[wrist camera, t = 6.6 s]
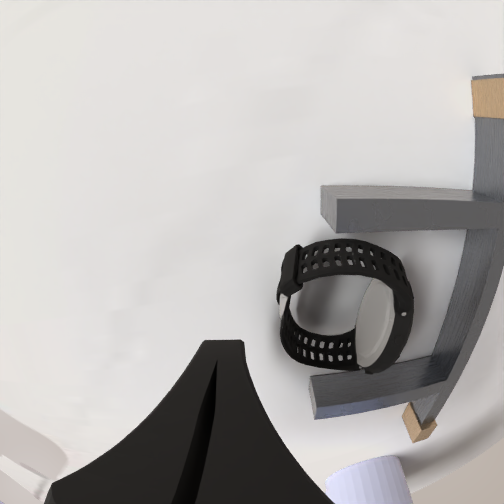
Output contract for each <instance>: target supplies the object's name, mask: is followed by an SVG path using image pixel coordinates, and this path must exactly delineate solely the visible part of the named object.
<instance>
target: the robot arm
mask: <svg viewBox="0 0 504 504" xmlns="http://www.w3.org/2000/svg"><path fill="white" fill-rule="evenodd" d="M325 485H326V492H325V493H324V492H323V491H322V490H321V489H320V488H319V487H318V486H317V485H316V484H315V483H314V481H313V480H312V479H311V478H310V477H309V476H308V475H307V473H306V472H305V471H304V470H303V468H302V467H301V466H300V464H299V463H298V462H297V461H296V459H295V458H294V457H293V455H292V454H291V453H290V451H289V450H288V448H287V447H286V445H285V444H284V442H283V441H282V439H281V438H280V436H279V435H278V433H277V431H276V430H275V428H274V426H273V425H272V423H271V421H270V419H269V417H268V416H267V414H266V412H265V410H264V408H263V405H262V403H261V401H260V399H259V397H258V395H257V392H256V390H255V387H254V384H253V382H252V379H251V376H250V373H249V370H248V367H247V363H246V356H245V346H244V342H243V341H242V340H204V341H203V342H202V344H201V345H200V347H199V349H198V350H197V352H196V354H195V355H194V357H193V358H192V360H191V362H190V363H189V365H188V366H187V368H186V369H185V371H184V372H183V373H182V375H181V376H180V378H179V379H178V380H177V382H176V383H175V385H174V386H173V387H172V388H171V390H170V391H169V392H168V393H167V395H166V396H165V397H164V398H163V400H162V401H161V402H160V403H159V404H158V406H157V407H156V408H155V409H154V410H153V411H152V412H151V413H150V414H149V415H148V416H147V417H146V419H144V420H143V421H142V422H141V423H140V424H139V425H138V426H137V427H136V428H135V429H134V430H133V431H132V432H131V433H130V434H128V435H127V436H126V437H125V438H124V439H123V440H122V441H120V442H119V443H118V444H117V445H115V446H114V447H113V448H111V449H110V450H109V451H107V452H106V453H104V454H103V455H101V456H100V457H98V458H97V459H96V460H94V461H93V462H91V463H90V464H88V465H86V466H85V467H83V468H81V469H79V470H77V471H76V472H74V473H72V474H70V475H68V476H66V477H64V478H62V479H60V480H58V481H56V482H53V483H52V485H51V487H50V489H49V491H48V494H47V497H46V499H45V502H44V504H413V501H412V498H411V495H410V491H409V488H408V485H407V481H406V478H405V475H404V472H403V469H402V466H401V463H400V460H399V458H398V457H396V456H382V457H377V458H372V459H369V460H365V461H362V462H359V463H356V464H353V465H350V466H348V467H345V468H343V469H341V470H339V471H337V472H335V473H334V474H332V475H330V476H329V477H328V478H327V479H326V481H325ZM0 504H4V503H3V502H1V501H0Z"/></svg>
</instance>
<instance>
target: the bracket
mask: <svg viewBox="0 0 504 504" xmlns="http://www.w3.org/2000/svg"><path fill="white" fill-rule="evenodd" d="M472 79H473V80H471V84H472V95H473V113H474V117H475V167H474V181H473V191H472V190H459V189H444V188H426V187H401V186H321V215H322V216H323V218H324V219H325V220H326V221H327V223H328V224H329V225H330V226H331V228H332V229H333V230H334V232H335V233H355V232H382V231H412V230H448V229H467V234H466V240H465V245H464V250H463V255H462V259H461V264H460V268H459V272H458V276H457V280H456V284H455V288H454V291H453V295H452V298H451V302H450V305H449V308H448V311H447V315H446V318H445V321H444V324H443V327H442V329H441V332H440V335H439V338H438V340H437V343H436V346H435V348H434V351H433V353H432V356H429V357H425V358H420V359H416V360H412V361H407V362H402V363H398V364H393V365H392V366H390V367H389V368H388V369H386V370H385V371H382V372H380V373H373V375H371V374H365V370H359V371H352V372H345V373H337V374H329V375H321V376H311V377H310V384H309V393H310V398H311V403H312V409H313V414H314V420H316V419H324V418H332V417H338V416H345V415H351V414H356V413H362V412H367V411H372V410H377V409H381V408H386V407H390V406H394V405H399V404H402V403H406V402H410V401H411V402H410V403H409V404H408V406H407V408H406V410H405V412H404V413H403V415H402V418H403V421H404V423H405V425H406V428H407V430H408V433H409V435H410V438H411V440H412V443H415V442H418V441H421V440H424V439H427V438H428V437H429V436H430V435H431V433H432V432H433V430H434V429H435V428H436V426H437V424H436V421H435V418H436V417H437V415H438V414H439V412H440V410H441V409H442V407H443V406H444V404H445V402H446V401H447V399H448V397H449V396H450V394H451V392H452V390H453V389H454V387H455V385H456V383H457V381H458V379H459V378H460V376H461V374H462V372H463V370H464V368H465V366H466V364H467V362H468V360H469V358H470V356H471V354H472V351H473V349H474V347H475V345H476V343H477V340H478V338H479V336H480V333H481V331H482V328H483V326H484V323H485V321H486V318H487V316H488V313H489V310H490V308H491V305H492V302H493V299H494V296H495V293H496V290H497V287H498V284H499V280H500V277H501V273H502V270H503V266H504V74H494V75H483V76H474V77H472Z"/></svg>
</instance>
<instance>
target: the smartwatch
mask: <svg viewBox="0 0 504 504" xmlns="http://www.w3.org/2000/svg"><path fill="white" fill-rule="evenodd" d="M346 247H351V248H352V252H347V251H346ZM327 248H329V250H328V252H327V253H324V249H327ZM335 248H341V249H340V251H337V252H335V251H334V250H335ZM358 249H362V250H363V253H359V252H358ZM317 250H318V253H317V255H316V256H314V253H315V251H317ZM370 251H371V252H372V253H373V256H371V255H370ZM306 254H308V256H307V258H306V259H305V256H306ZM381 258H382V259H381ZM336 260H340V261H341V264H342V265H341V266H338V265H336V262H335V261H336ZM347 260H352V263H353V265H349V263H348V261H347ZM325 261H327V262H329V264H330V266H329V267H323V263H324V262H325ZM360 261H362V262H363V263H364V265H365V267H362V265H361V263H360ZM315 263H318V266H319V268H317V269H313V265H314V264H315ZM373 265H374V266H375V269H376V270H375V269H374V267H373ZM305 267H307V270H308V271H307V272H305V273H303V269H304V268H305ZM334 275H362V276H366V277H371V278H374V279H373V280H372V281H371V283H370V285H369V286H368V288H367V290H366V292H365V294H364V297H363V299H362V302H361V305H360V308H359V312H358V316H357V320H356V325H355V328H354V329H353V330H351V331H349V332H347V333H344V334H342V335H335V336H326V335H319V334H315V333H311V332H308V331H306V330H304V329H302V328H300V327H299V326H298V325H297V324H296V322H295V321H294V319H293V317H292V315H291V312H290V309H289V305H290V299H291V295H292V294H294V293H296V292H297V291H299V290H301V289H302V287H303V283H304V282H307V281H310V280H313V279H316V278H319V277H326V276H334ZM413 299H414V297H413V292H412V288H411V285H410V283H409V281H408V280H407V277H406V273H405V270H404V267H403V265H402V262H401V260H400V259H399V258H398V257H397V256H396V255H394V254H393V253H391V252H389V251H388V250H385V249H383V248H381V247H379V246H377V245H374V244H371V243H368V242H366V241H361V240H356V239H333V240H325V241H320V242H315V243H313V244H310V245H308V246H306V247H304V248H303V247H302V246H300V245H296V246H294V247H293V248H292V249H290V250H289V251H288V252H287V253H286V254H285V257H284V260H283V262H282V267H281V278H280V282H279V285H278V288H277V302H278V304H279V305H280V306H279V316H280V319H281V318H282V319H281V327H280V336H281V342H282V345H283V347H284V349H285V351H286V352H287V354H288V355H289V356H290V357H291V358H292V359H294V360H296V361H297V362H299V363H302V364H305V365H309V366H314V367H319V368H326V369H334V370H345V371H359V370H362V369H364V370H365V374H371V375H373V373H380V372H382V371H385V370H386V369H388V368H389V367H390V366H392V365H393V364H394V363H395V362H396V360H397V359H398V358H399V357H400V354H401V352H402V350H403V348H404V346H405V345H406V343H407V340H408V337H409V334H410V331H411V327H412V322H413V313H414V300H413ZM294 333H295V335H294ZM299 334H300V336H301V337H300V340H299V339H298V338H299ZM305 337H306V338H307V339H308V340H307V344H305V343H304V339H305ZM313 339H314V340H315V341H316V342H315V346H312V345H311V342H312V340H313ZM321 341H323V342H325V343H324V348H320V342H321ZM331 342H332V343H334V345H333V348H331V349H329V348H328V347H329V343H331ZM350 342H351V346H349V347H348V343H350ZM341 343H343V346H342V347H341V348H339V347H340V345H341ZM303 349H304V350H305V353H306V357H304V356H303ZM311 352H313V353H314V360H313V359H311ZM319 354H323V360H320V357H319ZM328 355H331V356H332V357H333V361H332V362H330V361H329V357H328ZM339 355H341V356H342V357H343V360H342V361H339V359H338V356H339ZM348 355H352V358H351V359H348V358H347V356H348Z"/></svg>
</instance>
